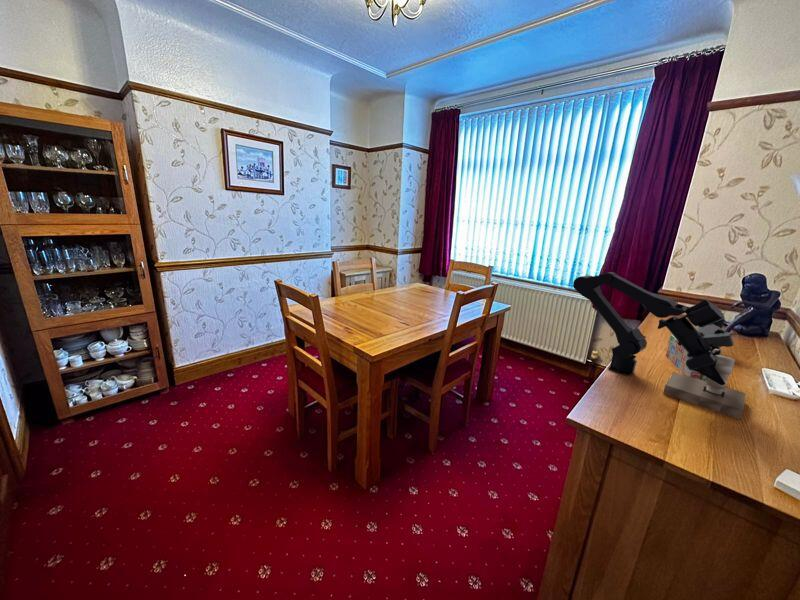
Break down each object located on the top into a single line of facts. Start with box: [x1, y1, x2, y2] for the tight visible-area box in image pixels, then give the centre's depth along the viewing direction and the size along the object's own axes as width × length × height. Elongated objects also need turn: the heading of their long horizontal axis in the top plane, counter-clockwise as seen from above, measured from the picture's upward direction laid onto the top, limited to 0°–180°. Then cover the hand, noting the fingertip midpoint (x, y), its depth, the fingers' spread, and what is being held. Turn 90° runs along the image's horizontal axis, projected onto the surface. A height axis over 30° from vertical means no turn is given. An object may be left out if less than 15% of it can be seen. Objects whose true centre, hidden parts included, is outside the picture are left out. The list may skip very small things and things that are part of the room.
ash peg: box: [705, 354, 736, 397], centre depth 96 cm, size 4×4×14 cm
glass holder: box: [695, 318, 726, 335], centre depth 139 cm, size 9×14×15 cm, turn 148°
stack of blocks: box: [665, 334, 723, 382], centre depth 118 cm, size 21×6×12 cm, turn 159°
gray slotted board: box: [662, 371, 747, 420], centre depth 99 cm, size 17×14×3 cm
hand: (724, 380), depth 95 cm, fingers open, 8 cm apart
